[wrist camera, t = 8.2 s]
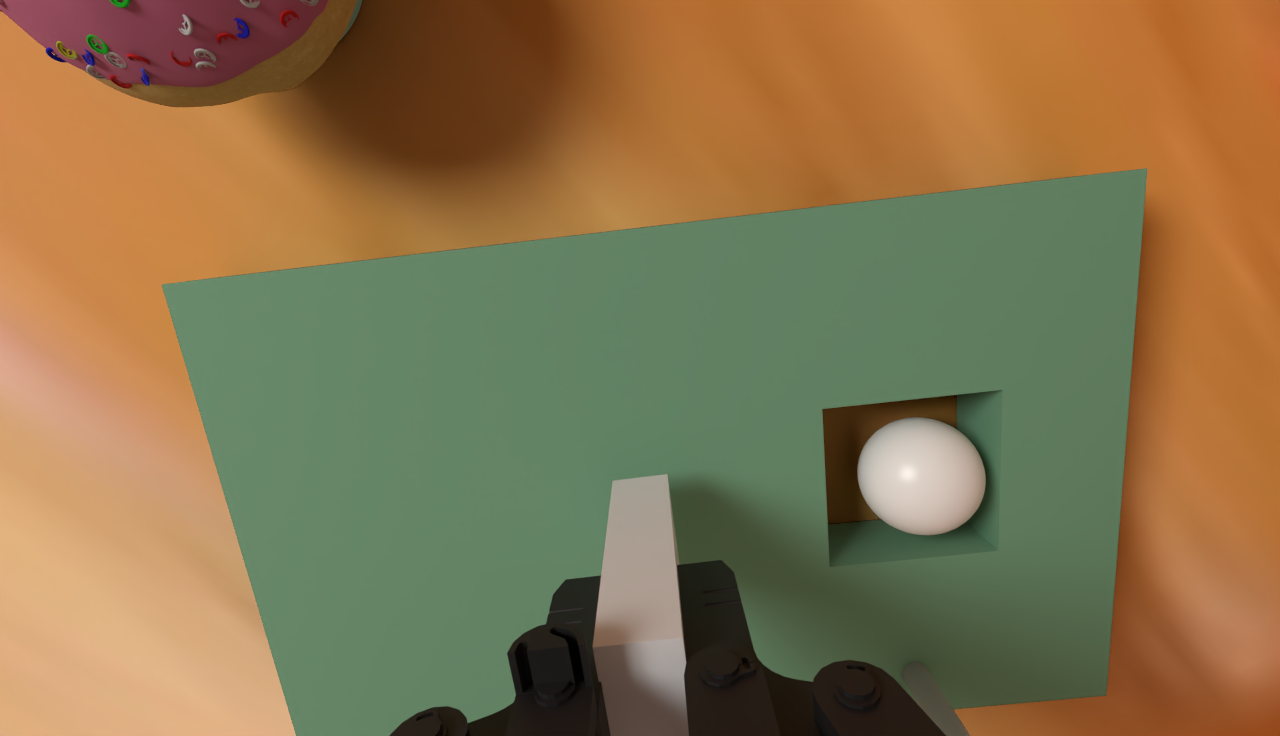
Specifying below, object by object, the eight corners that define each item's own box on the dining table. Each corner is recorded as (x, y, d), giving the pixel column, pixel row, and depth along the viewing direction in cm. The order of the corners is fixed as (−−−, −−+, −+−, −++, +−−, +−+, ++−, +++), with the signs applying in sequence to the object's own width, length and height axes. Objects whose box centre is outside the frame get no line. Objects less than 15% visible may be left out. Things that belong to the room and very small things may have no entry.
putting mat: (224, 276, 19) (-1090, 441, 4) (1078, 175, 18) (2760, -12, 4) (342, 708, 22) (-178, 1541, 8) (1053, 642, 21) (1841, 1446, 7)
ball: (956, 454, 15) (1008, 415, 17) (833, 426, 18) (892, 395, 20) (951, 574, 16) (1001, 522, 18) (835, 531, 19) (891, 490, 21)
